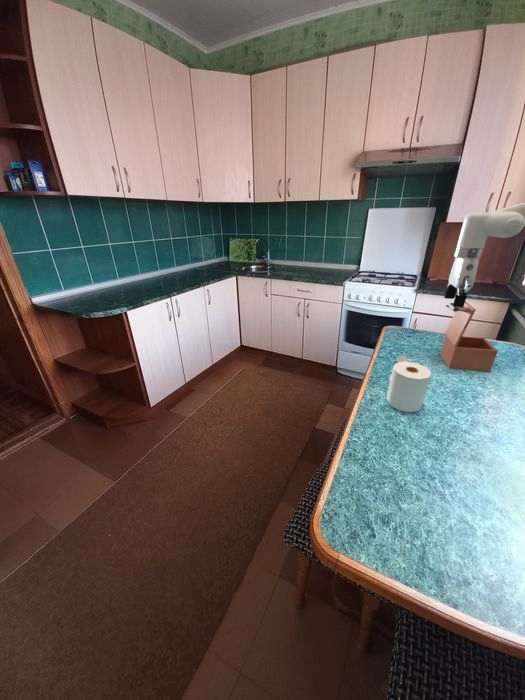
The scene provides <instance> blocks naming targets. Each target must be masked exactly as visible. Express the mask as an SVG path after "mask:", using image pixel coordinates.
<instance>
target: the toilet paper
mask: <svg viewBox="0 0 525 700" xmlns="http://www.w3.org/2000/svg"><path fill="white" fill-rule="evenodd" d="M391 374H392V375H391ZM391 374H390V376H391V379H390V381H389V384H388V390H387V393H386V394H387V395H386V401H387V402H388V405H389V406H391V407H392V408H395V410H398V411H400V412H405V413H410V414H412V413H415V412H420V411H421V409H422V407H423V404H424V401H425V397H426V394H427V390H428V386H429V383H430V381H431V380H430V379H431V376H432V371H431V370H430V369H429V368H428V367H427V366H425V365H422V364H421V363H418V362H413V361H408V362H406V361H404V362H395V364H394V365H393V366H392V370H391Z"/></svg>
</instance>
